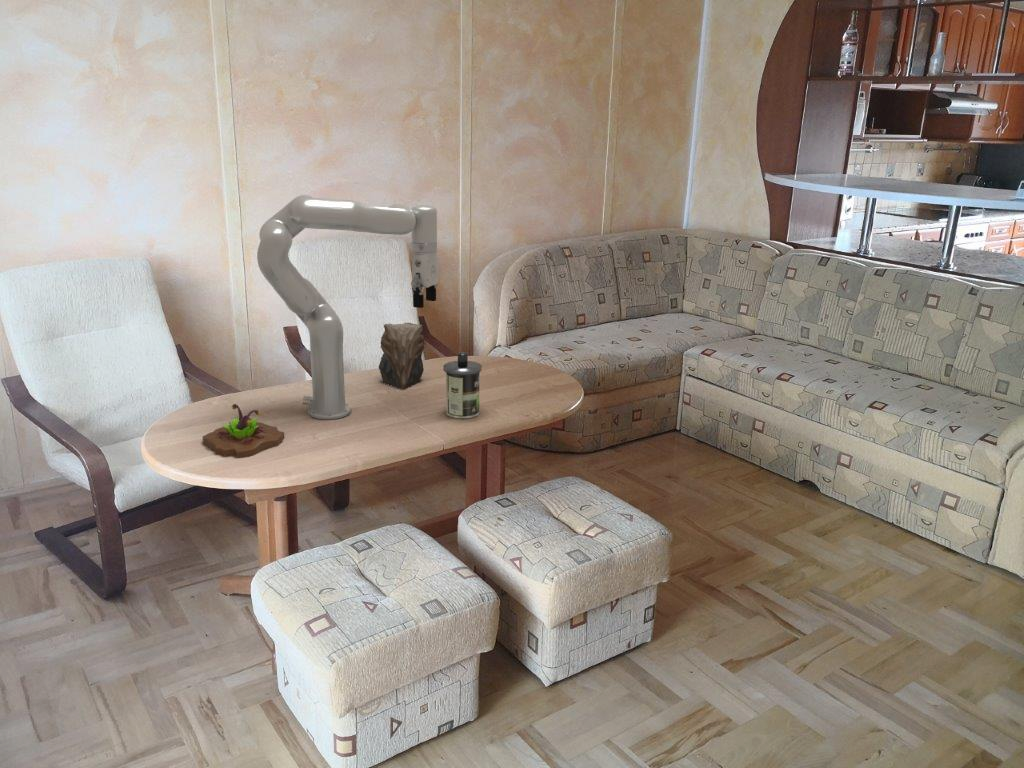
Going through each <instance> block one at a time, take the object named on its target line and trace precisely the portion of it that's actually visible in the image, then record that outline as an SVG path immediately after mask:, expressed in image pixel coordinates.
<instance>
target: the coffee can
mask: <svg viewBox="0 0 1024 768" xmlns="http://www.w3.org/2000/svg"><path fill="white" fill-rule="evenodd" d="M480 373H481V372H479V373H477V374H473V375H453V374H449V373H446V372H445V374H446V377H445V378H446V381H445V382H446V383H445V384H446V386H445V387H446V415H447V416H449V417H451V418H452V419H453V418H454V419H462V420H463V419H473V418H475V417H477V416H479V415H480V413H481V412H480Z"/></svg>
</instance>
